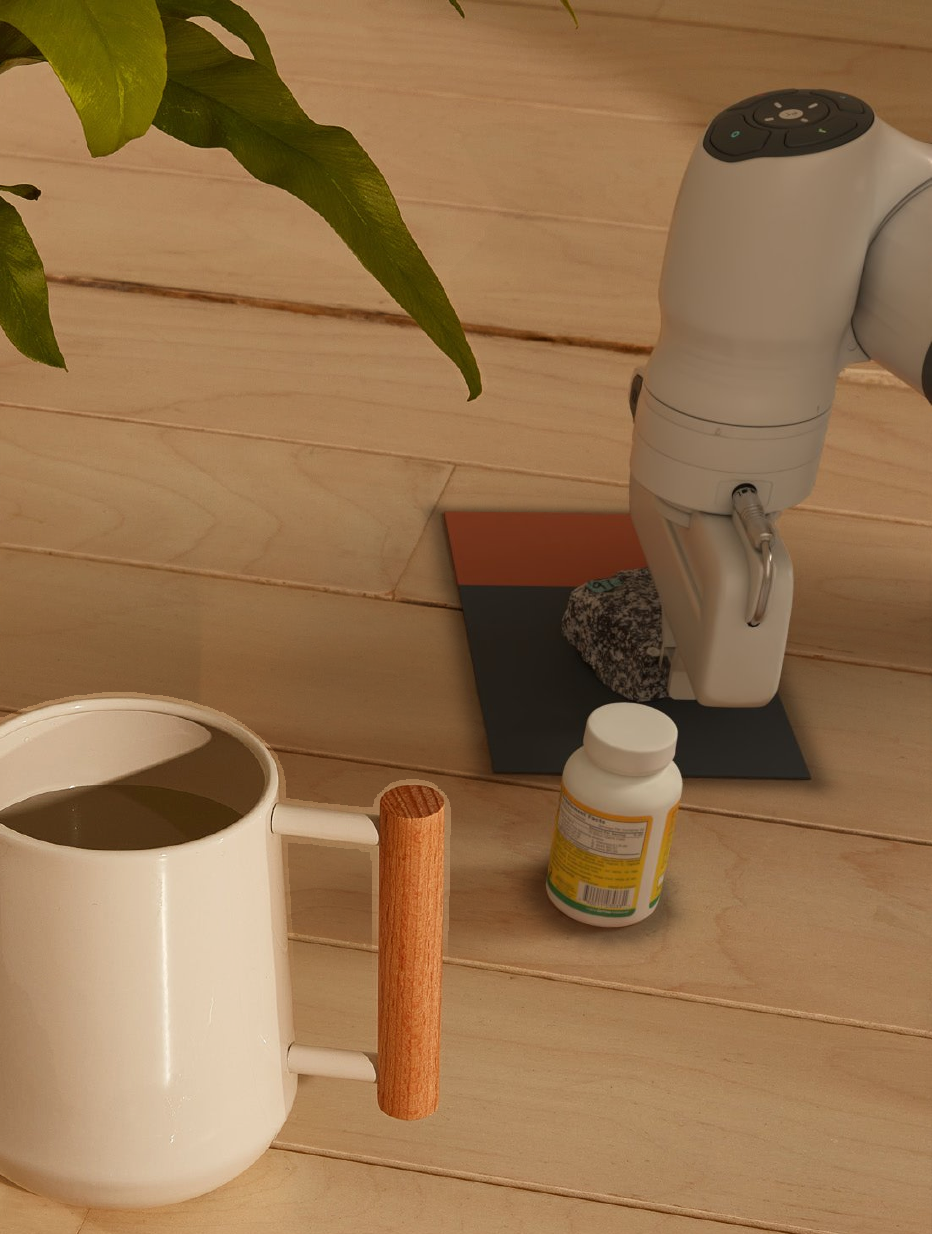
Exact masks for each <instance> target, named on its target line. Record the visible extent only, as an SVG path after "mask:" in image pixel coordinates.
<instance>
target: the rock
mask: <svg viewBox="0 0 932 1234" xmlns="http://www.w3.org/2000/svg"><path fill="white" fill-rule="evenodd" d="M561 633H562V634H563V636H564V637H566V638H567V640H568V642H569V644H571V645H572V646H573V647H575V648H576V649H578V652H580V653H582V658H583V660H584V661H585V662H588V663H589V664H591V665H592V668H593V670H594V671H596V673H595V675H596V676H597V677H598V678H599V680H600V681H601V682H602V683H604V684H605V685H606V686H608V687H610V689H611V690H612V691H614V692H616V693H618V694H621V695H623V696H624V697H626V698H628V699H630V700H635V701H637V702H642V701H650V700H657V699H660V698H664V697H670V696H669V693H668V691H667V687H666V683H665V680H664V678H663V675H662V673H661V670H660V667H659V659H660V654H661V648H662V643H663V640H662V603H661V600H660V597H659V595H658V592H657V589H656V586H655V584H654V581H653V578H652V575H651V572H650V570H649V567H648V566H647V567H644V568H638V569H627V570H622V571H618V572H617V573H615V574H614V575H613V576H612V577H610V578H603V579H595V580H591V581H588V582H586V583H585V584H583V585H582V586H580V587H578V588H576V589H575V590H573V591H572V593H571V595H570V598H569V602H568V609H567V611H566V612H565V614H564V616H563V619H562V629H561Z"/></svg>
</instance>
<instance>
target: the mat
mask: <svg viewBox="0 0 932 1234" xmlns="http://www.w3.org/2000/svg"><path fill="white" fill-rule="evenodd" d="M443 515H444V520H445V524H446V530H447V537H448V541H449V546H450V552H451V556H452V557H451V558H452V561H453V567H454V573H455V577H456V583H457V588H458V593H459V598H460V603H461V609H462V614H463V619H464V623H465V629H466V630H465V631H466V635H467V640H468V641H467V642H468V645H469V650H470V655H471V661H472V667H473V671H474V677H475V682H476V688H477V692H478V697H479V702H480V708H481V713H482V718H483V719H482V720H483V725H484V729H485V734H486V740H487V745H488V746H487V747H488V751H489V756H490V760H491V767H492V771H493V774H502V775H505V774H506V775H507V774H508V775H556V776H557V775H559V776H561V775H562V776H563V771H564V767H565V765H566V763H567V761H568V759H569V758H570V756H571V755H572V754H573V753H574V752H575V751H576V750H577V749H579V748H580V747H582V746H584V744H583V739H584V734H585V729H586V724H587V720H588V718H589V716H590V714H591V713H592V712H593V711H594V710H596V709H597V708H599V707H601V706H604V705H607V704H612V703H636V704H641V705H645V706H648V707H651V708H654V709H656V710H658V711H660V712H662V713H664V714H665V715H667V716H668V717H669V718H670V719H671V720H672V721H673V722H674V724H675V725H676V728H677V732H678V736H677V742H676V747H675V755H674V758H673V760H672V761H673V762H674V763H675V764H676V766H677V767H678V769H679V771H680V774H681V777H682V778H703V779H705V778H706V779H707V778H708V779H709V778H710V779H711V778H712V779H714V778H715V779H753V780H754V779H756V780H757V779H759V780H760V779H763V780H764V779H765V780H808V781H809V780H812V775H811V772H810V770H809V767H808V765H807V763H806V762H807V761H806V760H805V757H804V755H803V752H802V749H801V747H800V744H799V743H798V740H797V737H796V735H795V732H794V729H793V727H792V725H791V721H790V719H789V717H788V713H787V712H786V709H785V707H784V704H783V702H782V699H781V697H780V694H779V691H778V690H777V691H776V694H775V695H774V697H773V698H772V699H771V700H770V702H769V703H767V704H766V705H765V706H762V707H753V708H729V707H710V706H704V705H701V704H700V703H699V702H698V701H697V700H696V699H695V700H678V699H673V698H671V697H664V698H660V699H657V700H650V701H642V702H637V701H635V700H630V699H628V698H626V697H624V696H623V695H621V694H618V693H616V692H614V691H612V690H611V689H610V687H608V686H606V685H605V684H604V683H602V682H601V681H600V680H599V678H598V677H597V676H596V675H595V673H596V671H594V670H593V668H592V665H591V664H589V663H588V662H585V661H584V660H583V658H582V653H580V652H578V649H576V648H575V647H573V646H572V645H571V644H569V642H568V640H567V638H566V637H564V636H563V634H562V633H561V629H562V619H563V616H564V614H565V612H566V611H567V609H568V602H569V598H570V595H571V593H572V591H573V590H575V589H576V588H578V587H580V586H582V585H583V584H585V583H586V582H588V581H591V580H595V579H603V578H610V577H612V576H613V575H614V574H615V573H617V572H618V571H622V570H627V569H638V568H644V567H647V566H648V564H647V561H646V558H645V556H644V553H643V550H642V547H641V545H640V542H639V539H638V536H637V533H636V531H635V528H634V525H633V523H632V520H631V515H630V513H599V512H598V513H596V512H595V513H594V512H593V513H590V512H587V513H586V512H584V513H582V512H529V511H528V512H522V511H521V512H519V511H459V510H458V511H455V510H453V511H451V510H444V512H443Z"/></svg>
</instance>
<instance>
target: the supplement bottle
mask: <svg viewBox="0 0 932 1234" xmlns="http://www.w3.org/2000/svg"><path fill="white" fill-rule="evenodd" d="M677 736H678V732H677V728H676V725H675V724H674V722H673V721H672V720H671V719H670V718H669V717H668V716H667V715H665V714H664V713H662V712H660V711H658V710H656V709H654V708H651V707H648V706H645V705H641V704H636V703H612V704H607V705H604V706H601V707H599V708H597V709H596V710H594V711H593V712H592V713H591V714H590V716H589V718H588V720H587V724H586V729H585V734H584V739H583V744H584V746H582V747H580V748H579V749H577V750H576V751H575V752H574V753H573V754H572V755H571V756H570V758H569V759H568V761H567V763H566V765H565V767H564V771H563V775H562V776H561V781H560V789H559V795H558V803H557V807H556V808H557V809H556V816H555V819H554V826H553V834H552V839H551V846H550V851H549V858H548V859H549V860H548V865H547V874H546V880H545V889H546V894H547V896H548V899H549V900H550V901H551V903H552V904H553V905H554V907H556V908H557V909H558V910H559V911H560V912H562V913H563V914H565V915H566V916H567V917H569V918H571V919H573V920H575V921H577V922H580V923H582V924H585V925H589V926H593V927H594V926H595V927H600V928H622V927H627V926H631V925H632V926H633V925H635V924H637V923H640V922H641V921H644V920H645V919H647V918H648V917H649V916H650V915H652V914H653V912H654V911H655V910H656V908H657V906H658V904H659V901H660V897H661V893H662V888H663V883H664V878H665V874H666V869H667V864H668V859H669V854H670V850H671V846H672V841H673V835H674V833H675V832H674V831H675V827H676V821H677V816H678V812H679V807H680V803H681V798H682V793H683V777H681V774H680V771H679V769H678V767H677V766H676V764H675V763H674V762H673V761H672V760H673V758H674V755H675V747H676V742H677Z"/></svg>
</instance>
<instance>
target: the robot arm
mask: <svg viewBox="0 0 932 1234" xmlns="http://www.w3.org/2000/svg"><path fill="white" fill-rule="evenodd" d="M682 175H683V176H682V178H681V181H680V185H679V189H678V191H677V194H676V199H675V203H674V206H673V211H672V214H671V219H670V223H669V227H668V232H667V237H666V243H665V248H664V253H663V260H662V263H661V270H660V276H659V281H658V288H657V289H658V290H657V294H658V295H657V297H658V298H657V299H658V304H659V305H658V306H659V311H660V327H659V334H658V336H657V341H656V343H655V345H654V347H653V350H652V351H651V353H650V354H649V358H648V359H647V362H646V364H645V365H638V366H635V367H634V369H633V370H632V373H631V377H630V382H629V388H628V397H627V398H628V405H629V409H630V413H631V416H632V424H633V427H632V434H631V442H632V443H631V450H630V455H629V461H628V462H629V480H628V481H629V482H628V501H629V502H628V503H629V505H628V506H629V514H630V515H631V520H632V523H633V525H634V528H635V531H636V533H637V536H638V539H639V542H640V545H641V547H642V550H643V553H644V556H645V558H646V561H647V564H648V567H649V570H650V572H651V575H652V578H653V581H654V584H655V586H656V589H657V592H658V595H659V597H660V600H661V603H662V640H663V643H662V648H661V654H660V659H659V667H660V670H661V673H662V675H663V678H664V680H665V683H666V687H667V691H668V693H669V696H670V697H671V698H673V699H678V700H695V699H696V700H697V701H698V702H699V703H700V704H701V705H704V706H710V707H729V708H753V707H762V706H765V705H766V704H767V703H769V702H770V700H771V699H772V698H773V697H774V695H775V694H776V691H778V689H779V686H780V685H779V684H780V681H781V680H780V679H781V676H782V671H783V670H782V669H783V664H784V658H785V653H786V647H787V641H788V634H789V629H790V628H789V627H790V623H791V622H790V621H791V615H792V610H793V609H792V608H793V601H794V600H793V599H794V588H795V587H794V586H795V585H794V583H795V582H794V580H795V578H794V567H793V563H792V559H791V555H790V553H789V551H788V548H787V546H786V544H785V542H784V540H783V538H782V536H781V534H780V531H779V529H778V527H777V525H776V523H777V521H778V520H779V519H780V517H781V516H782V511H786V510H789V509H791V508H793V507H795V506H798V505H799V504H801V503H802V502H804V501H805V500H807V499H808V498H809V497H810V495H811V494H812V493H813V491H814V488H815V486H816V482H817V477H818V472H819V468H820V464H821V459H822V455H823V450H824V447H825V446H824V445H825V441H826V437H827V433H828V429H829V424H830V419H831V415H832V410H833V406H834V401H835V399H836V392H837V384H838V383H837V382H838V378H839V376H840V374H841V372H842V371H843V370H844V369H845V368H846V367H848V366H850V365H852V364H853V365H854V364H858V363H859V364H861V363H869V362H871V361H873V362H874V363H875V364H876V365H878V366H880V367H881V368H882V369H883V370H885V371H887V372H888V373H890V374H891V375H893V376H894V377H895V378H897V379H898V380H899V381H901V382H902V383H904V384H905V385H907V386H909V387H910V388H911V389H913V390H914V391H915V392H917V393H918V394H920V395H921V396H923V397H924V398H925V399H926V401H928V404H929V405H930V406H932V142H927V141H921V140H918V139H915V138H913V137H911V136H909V135H907V134H905V133H903V132H902V131H900V130H898V129H897V128H895V127H893V126H891V125H890V124H888V123H887V122H886V121H884V120H883V119H881V118H880V117H878V115H877V113H876V112H875V110H874V109H873V107H872V106H871V105H869V104H868V103H867V102H866V101H864V100H863V99H861V98H859V97H857V96H854V95H852V94H849V93H846V92H841V91H836V90H831V89H824V88H784V89H776V90H770V91H766V92H762V93H758V94H755V95H753V96H750V97H747V98H745V99H742V100H740V101H738V102H737V103H734V104H732V105H730V106H728V107H727V108H725V109H723V110H722V111H720V112H719V113H718V114H717V115H716V116H714V117H713V118H712V120H711V121H709V123H708V124H707V125H706V127H705V129H703V132H702V133H701V135H700V136H699V138H698V140H697V142H696V144H695V146H694V148H693V150H692V152H691V155H690V157H689V160H688V162H687V164H686V167H685V169H684V172H683V174H682Z"/></svg>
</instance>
